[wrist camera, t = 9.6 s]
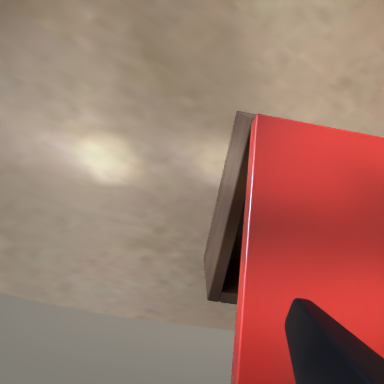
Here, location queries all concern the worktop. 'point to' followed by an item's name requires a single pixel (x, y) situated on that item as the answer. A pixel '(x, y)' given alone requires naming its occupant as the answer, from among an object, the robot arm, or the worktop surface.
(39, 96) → the worktop surface
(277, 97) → the worktop surface
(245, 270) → the lid
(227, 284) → the valve box
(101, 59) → the worktop surface
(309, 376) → the robot arm
